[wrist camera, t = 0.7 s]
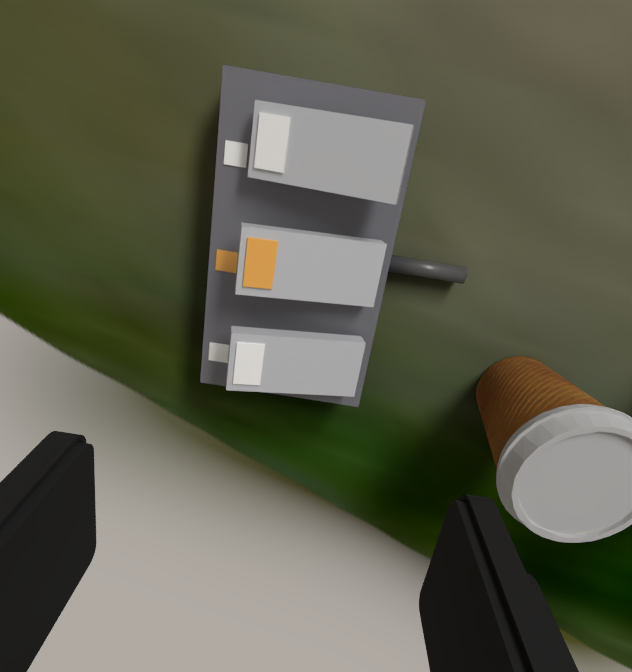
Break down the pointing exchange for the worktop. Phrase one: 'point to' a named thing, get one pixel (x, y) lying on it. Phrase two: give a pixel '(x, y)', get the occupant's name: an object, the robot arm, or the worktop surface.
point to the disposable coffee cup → (556, 452)
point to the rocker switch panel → (297, 219)
